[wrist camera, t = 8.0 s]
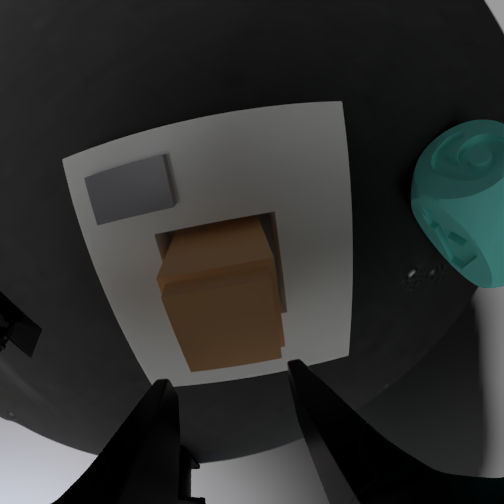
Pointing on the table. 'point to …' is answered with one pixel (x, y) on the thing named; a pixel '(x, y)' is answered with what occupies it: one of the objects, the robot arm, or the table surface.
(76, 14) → the table surface
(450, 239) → the decorative dice
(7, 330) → the black angular piece
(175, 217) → the socket plate
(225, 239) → the brown block
